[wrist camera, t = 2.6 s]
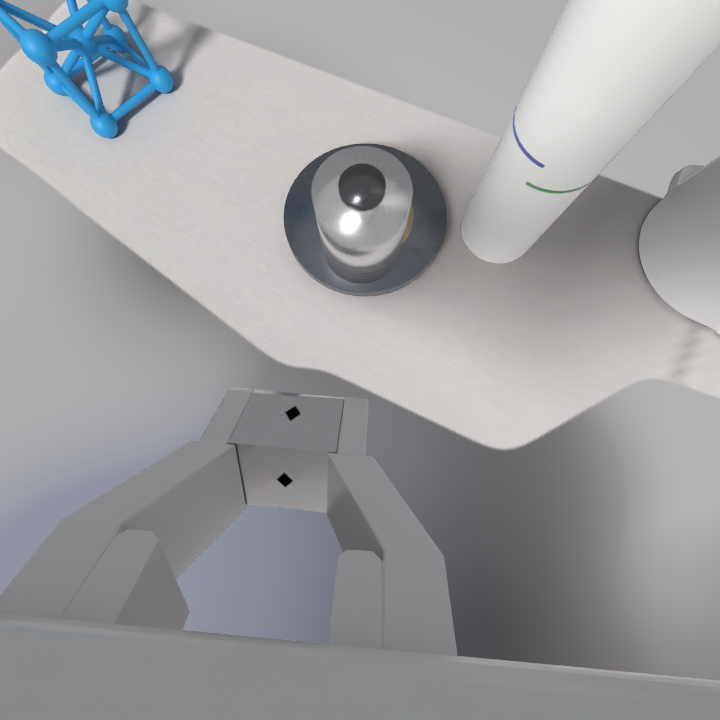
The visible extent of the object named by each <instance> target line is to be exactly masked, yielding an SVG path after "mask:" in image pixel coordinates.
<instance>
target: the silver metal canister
mask: <svg viewBox="0 0 720 720" xmlns="http://www.w3.org/2000/svg"><path fill="white" fill-rule="evenodd" d="M311 194H312V201H313V206H314V210H315V215H316V220H317V224H318V229H319V234H320V238H321V243H322V248H323V252H324V257H325V260H326V262H327V264H328V266H329V267H330V269H331V270H332V271H333V272H334V273H335V274H336V275H337V276H339V277H340V278H342V279H344V280H346V281H349V282H352V283H360V284H364V283H371V282H375V281H378V280H380V279H382V278H383V277H385V276H386V275H387V274H389V273H390V272H391V271H392V269H393V268H394V267H395V265H396V263H397V261H398V259H399V256H400V251H401V247H402V242H403V238H404V233H405V229H406V224H407V220H408V215H409V211H410V206H411V202H412V196H413V187H412V181H411V178H410V175H409V173H408V171H407V170H406V168H405V166H404V165H403V164H402V163H401V162H400V161H399V160H398V159H397V158H396V157H395V156H393V155H392V154H390V153H388V152H386V151H384V150H382V149H379V148H375V147H370V146H354V147H349V148H346V149H342V150H340V151H338V152H336V153H334V154H333V155H331V156H330V157H328V158H327V159H326V160H325V161H324V162H323V163H322V164H321V165H320V167H319V168H318V170H317V172H316V173H315V176H314V178H313V182H312V189H311Z"/></svg>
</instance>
